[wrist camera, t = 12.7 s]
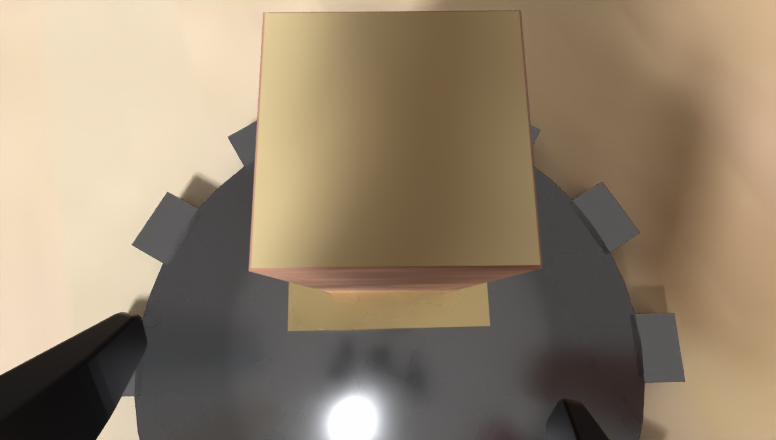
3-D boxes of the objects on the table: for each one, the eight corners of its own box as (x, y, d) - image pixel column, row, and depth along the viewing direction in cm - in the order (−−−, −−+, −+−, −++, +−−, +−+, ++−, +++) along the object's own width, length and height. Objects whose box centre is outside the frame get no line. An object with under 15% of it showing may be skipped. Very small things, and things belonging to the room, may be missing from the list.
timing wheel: (709, 668, 16) (740, 703, 14) (82, 687, 15) (53, 724, 14) (622, 95, 20) (640, 80, 19) (142, 106, 20) (124, 91, 19)
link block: (328, 292, 17) (248, 271, 7) (330, 173, 18) (262, 10, 8) (453, 291, 17) (543, 267, 7) (448, 172, 18) (521, 8, 8)
